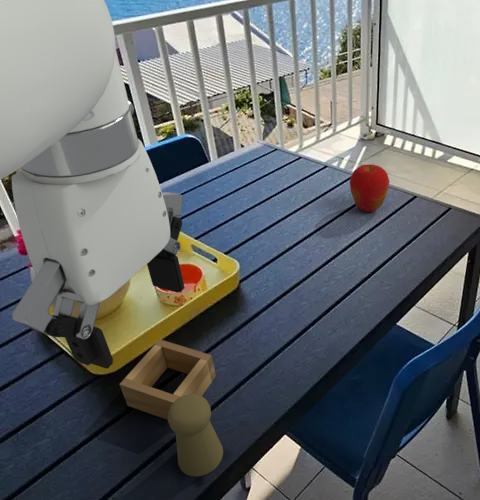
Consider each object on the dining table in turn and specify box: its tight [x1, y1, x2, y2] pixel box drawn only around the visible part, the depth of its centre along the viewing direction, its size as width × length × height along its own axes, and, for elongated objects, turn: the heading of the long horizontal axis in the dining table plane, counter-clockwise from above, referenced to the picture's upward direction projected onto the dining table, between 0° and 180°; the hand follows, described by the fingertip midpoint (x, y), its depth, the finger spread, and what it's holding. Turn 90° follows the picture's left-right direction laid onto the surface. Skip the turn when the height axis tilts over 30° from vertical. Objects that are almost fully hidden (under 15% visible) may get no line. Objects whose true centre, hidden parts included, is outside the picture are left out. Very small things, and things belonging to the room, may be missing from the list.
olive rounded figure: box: [167, 394, 224, 477], centre depth 65 cm, size 6×6×11 cm
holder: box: [119, 339, 217, 421], centre depth 75 cm, size 9×9×5 cm
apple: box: [349, 164, 391, 213], centre depth 118 cm, size 9×9×12 cm
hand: (135, 321), depth 44 cm, fingers open, 9 cm apart
